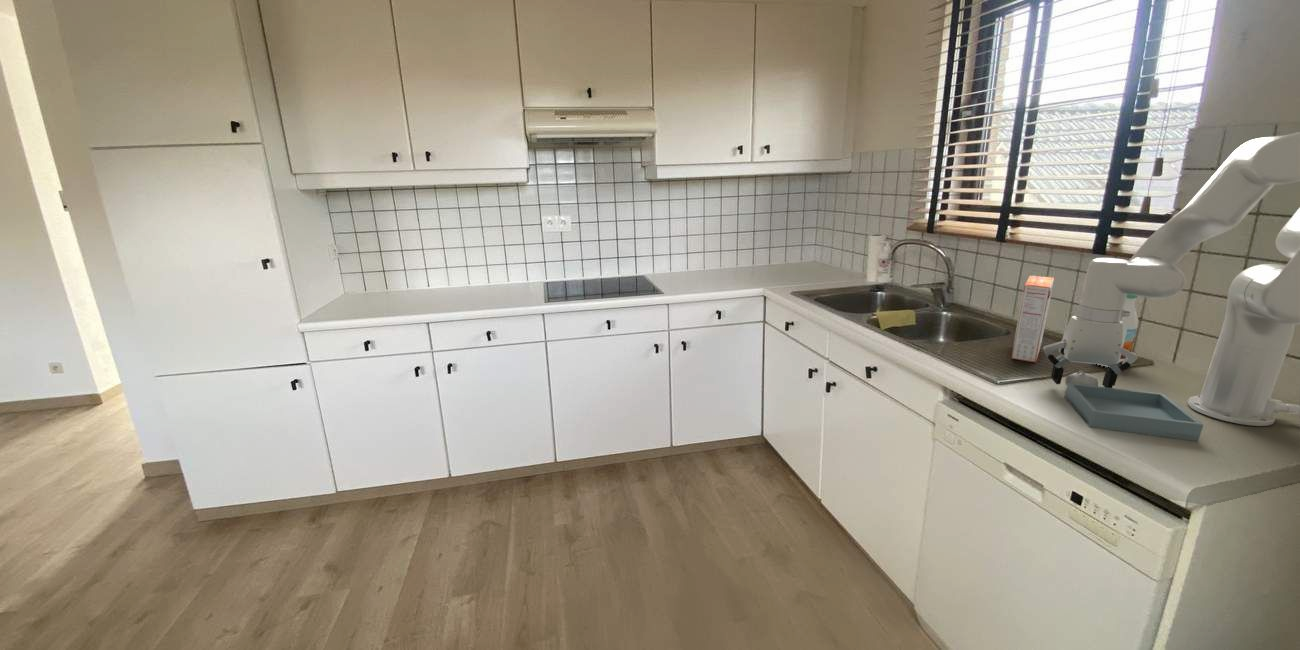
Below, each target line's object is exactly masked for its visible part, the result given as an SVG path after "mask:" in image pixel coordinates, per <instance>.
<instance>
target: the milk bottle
mask: <svg viewBox="0 0 1300 650" xmlns="http://www.w3.org/2000/svg"><path fill="white" fill-rule="evenodd" d="M1138 297H1139V296H1136V295H1131V294H1127V296H1126V300H1125V304H1124V308H1123V309H1124V310H1125V311H1129V312H1130V315H1129V317H1122V320H1121V322H1122V323H1123V340H1122V348H1124V349H1126V350H1128V351H1130V352H1131V353H1132V350H1133V347H1134V345H1135V344H1134V343H1135V339H1136V335H1137V333H1138V332H1137V331H1138V327H1139V318H1138V313H1137V310H1136V306H1135V305H1136V304H1135V303H1136V301H1137V300H1138ZM1125 358H1126V356H1124V355H1122V354H1120V357H1119V360H1118V362H1117V363H1119V362H1121V361H1124V360H1125ZM1117 363H1116V364H1117ZM1099 365H1100V364H1097V366H1099ZM1103 366H1105V367H1104V368H1108V365H1101V366H1100V367H1103Z"/></svg>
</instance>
